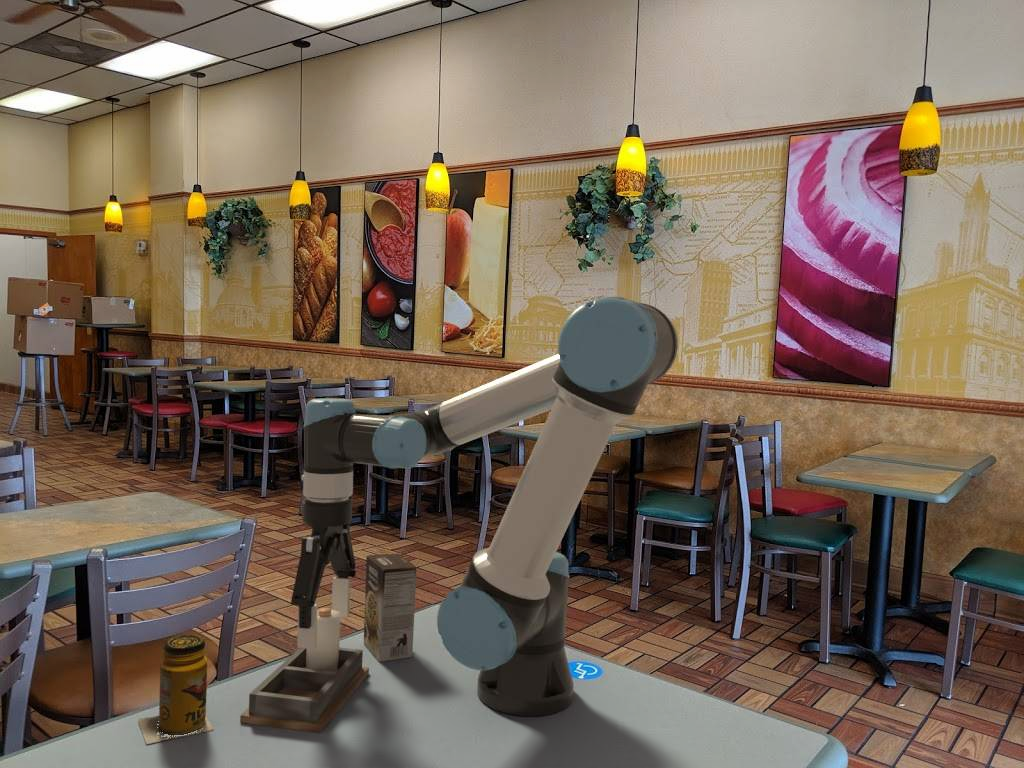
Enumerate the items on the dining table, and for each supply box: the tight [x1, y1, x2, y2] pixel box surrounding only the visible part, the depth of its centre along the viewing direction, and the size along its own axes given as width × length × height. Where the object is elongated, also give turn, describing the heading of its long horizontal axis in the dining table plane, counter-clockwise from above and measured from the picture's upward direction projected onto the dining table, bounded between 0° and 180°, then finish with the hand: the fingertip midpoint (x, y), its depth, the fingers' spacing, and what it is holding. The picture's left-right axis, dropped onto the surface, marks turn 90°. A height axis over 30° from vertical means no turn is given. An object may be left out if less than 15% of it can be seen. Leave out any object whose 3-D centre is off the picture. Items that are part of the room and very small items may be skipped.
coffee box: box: [363, 552, 418, 663], centre depth 138 cm, size 9×6×16 cm
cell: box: [306, 607, 342, 672], centre depth 124 cm, size 5×5×11 cm
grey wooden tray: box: [239, 646, 370, 734], centre depth 119 cm, size 12×20×4 cm, turn 171°
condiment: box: [137, 634, 214, 745], centre depth 108 cm, size 7×8×12 cm
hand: (324, 631), depth 123 cm, fingers open, 13 cm apart
